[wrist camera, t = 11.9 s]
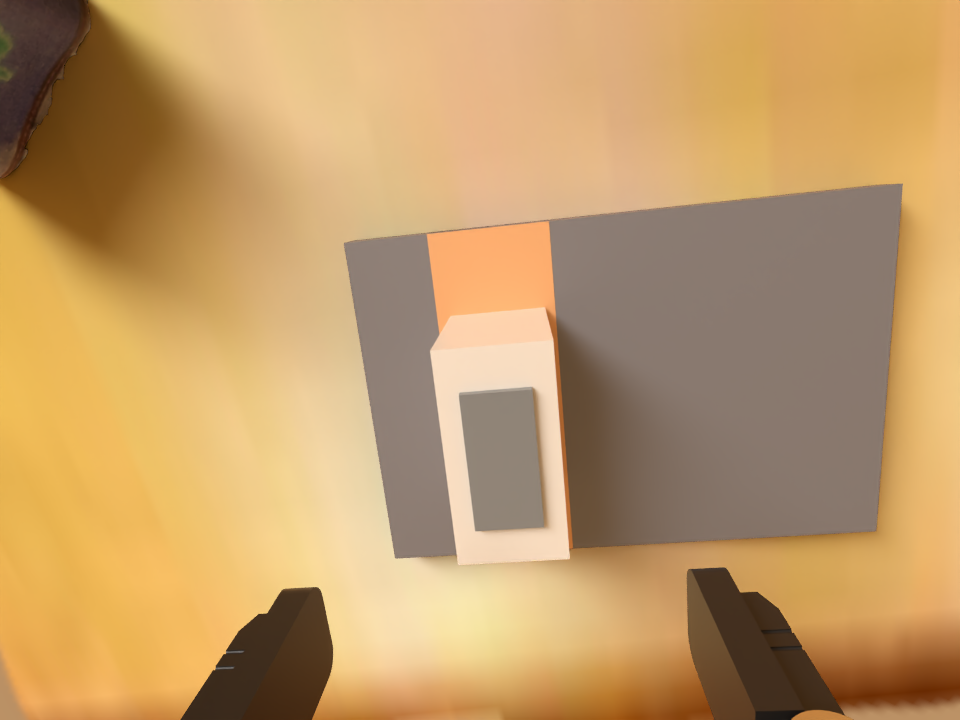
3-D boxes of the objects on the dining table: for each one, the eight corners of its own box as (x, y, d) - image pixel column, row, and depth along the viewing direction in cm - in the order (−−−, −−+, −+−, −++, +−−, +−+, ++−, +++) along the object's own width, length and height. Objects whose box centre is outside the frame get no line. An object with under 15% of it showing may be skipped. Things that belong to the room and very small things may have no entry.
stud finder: (544, 307, 24) (553, 342, 18) (558, 480, 26) (570, 564, 20) (450, 315, 25) (428, 353, 19) (471, 486, 27) (457, 570, 21)
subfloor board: (879, 184, 24) (902, 183, 22) (857, 513, 28) (876, 531, 26) (353, 240, 26) (344, 243, 24) (401, 540, 30) (395, 558, 28)
